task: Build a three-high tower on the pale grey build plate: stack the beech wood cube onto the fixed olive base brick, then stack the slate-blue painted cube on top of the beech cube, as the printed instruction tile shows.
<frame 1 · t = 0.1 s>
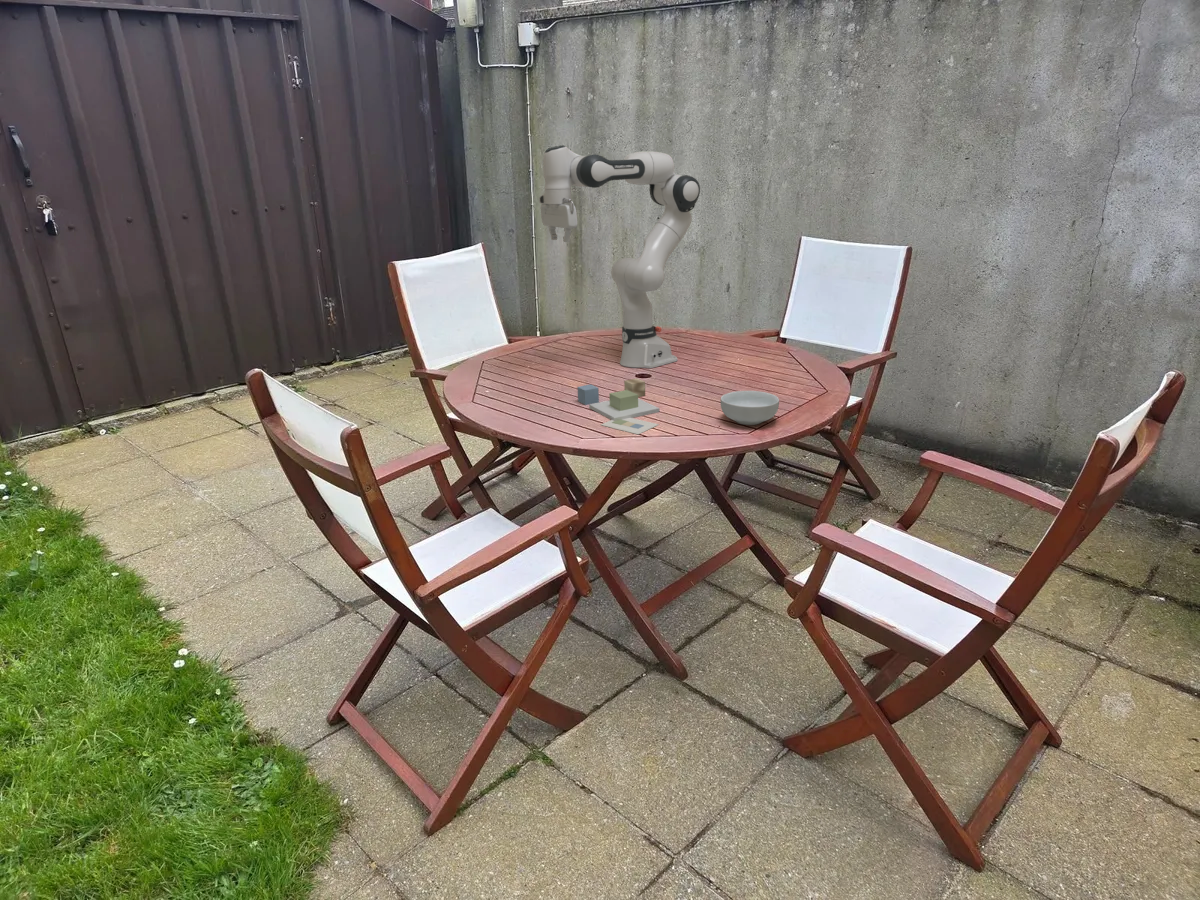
hand: (560, 240, 254), 48 cm above the table, fingers open, 8 cm apart
cereal bowl: (748, 421, 221), on the table
instruction card: (629, 425, 221), on the table
beech block: (634, 395, 248), on the table
build plate: (623, 409, 234), on the table
slate blue block: (588, 402, 243), on the table
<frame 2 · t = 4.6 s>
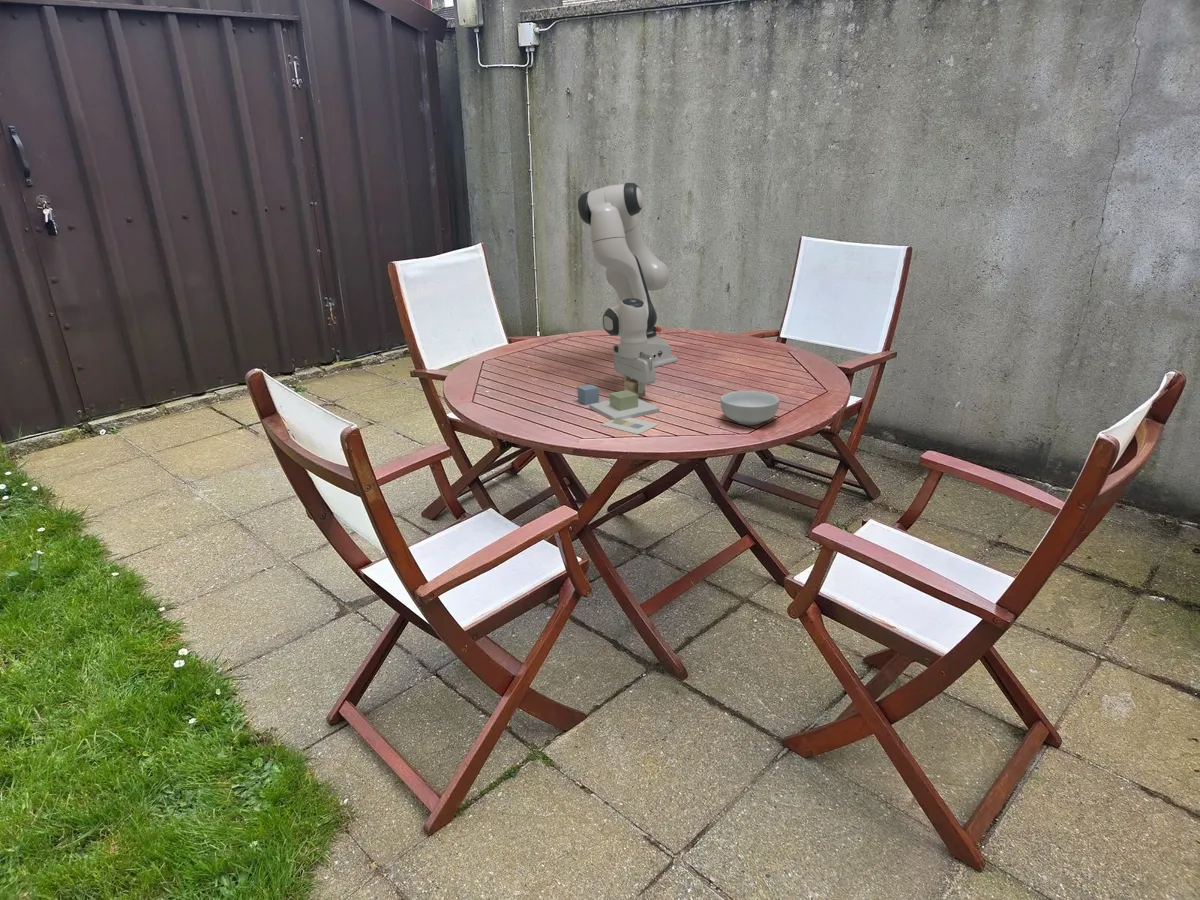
hand: (634, 390, 247), 2 cm above the table, fingers closed on beech block, 5 cm apart
beech block: (634, 395, 248), on the table, touching gripper
everything else where it was.
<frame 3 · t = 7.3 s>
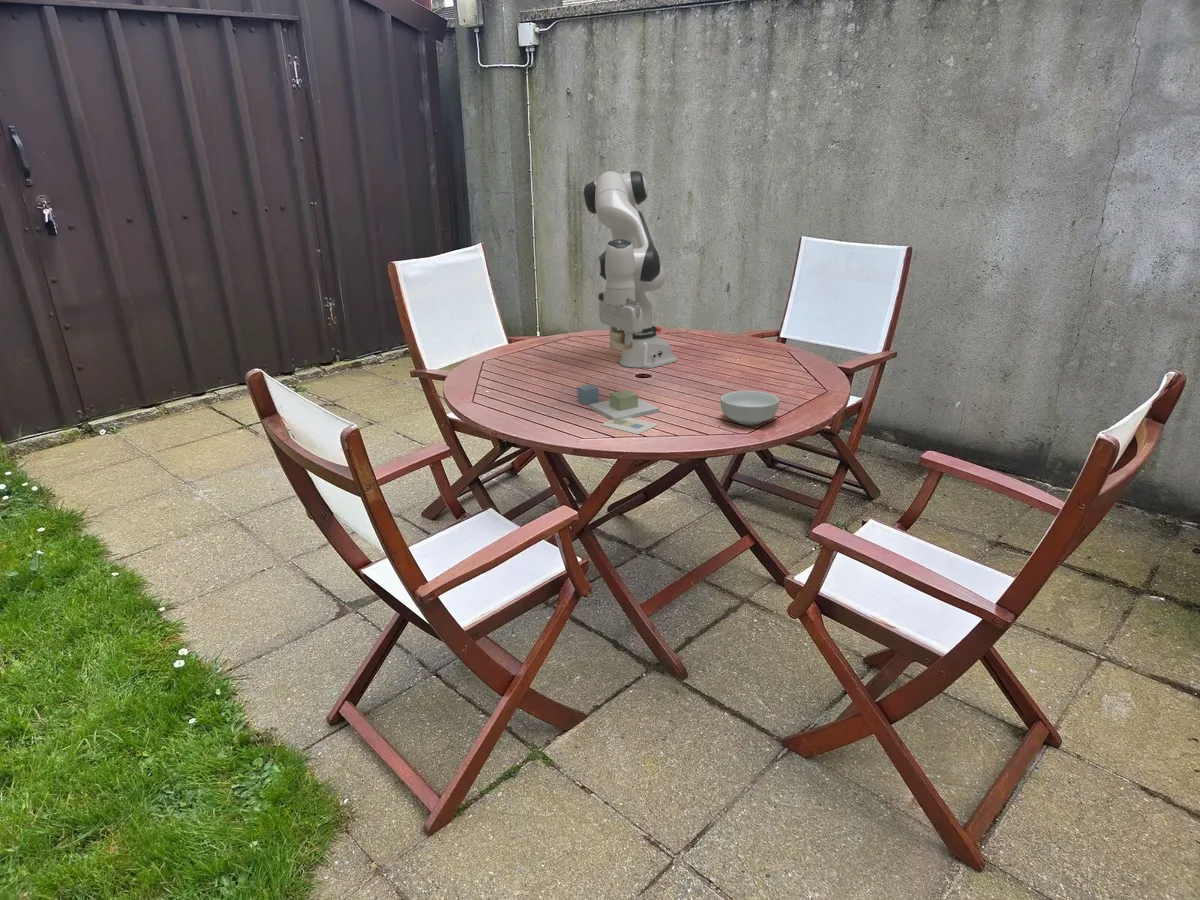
hand: (621, 342, 226), 21 cm above the table, fingers closed on beech block, 5 cm apart
beech block: (621, 347, 227), point 20 cm above the table, touching gripper
everything else where it was.
when the fingers open (8 cm above the table, at t = 10.2 s): beech block drops 1 cm, resting on build plate.
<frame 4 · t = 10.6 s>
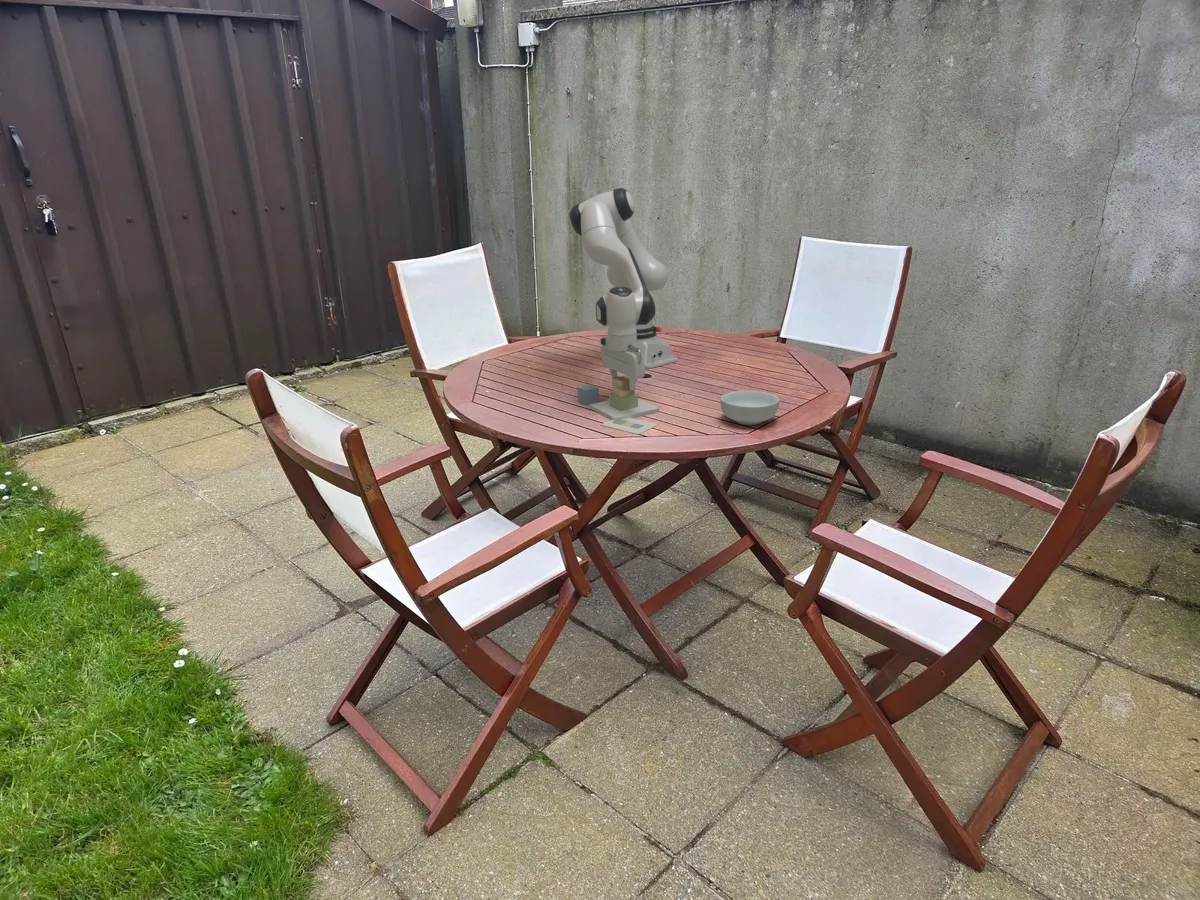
hand: (623, 386, 231), 8 cm above the table, fingers open, 8 cm apart
beech block: (623, 394, 232), point 5 cm above the table, touching build plate
everything else where it was.
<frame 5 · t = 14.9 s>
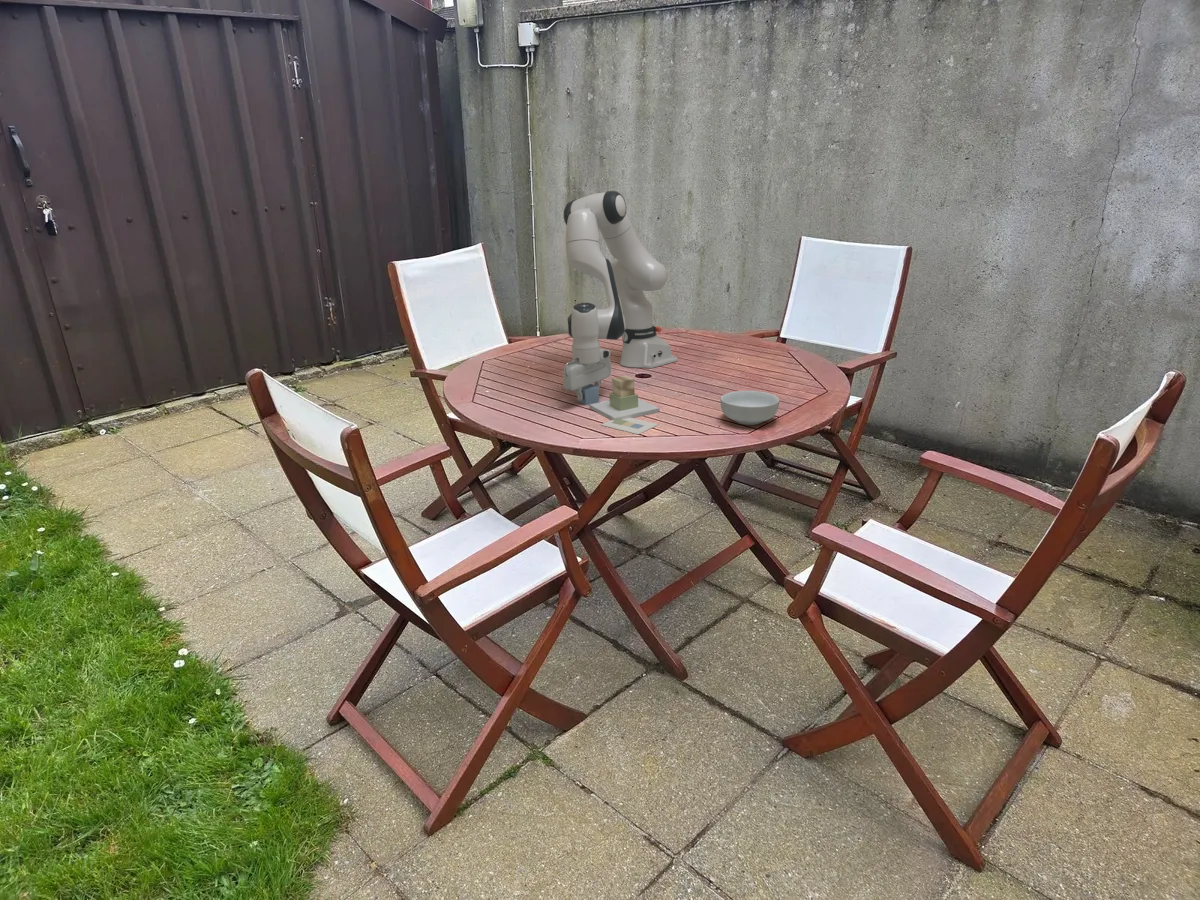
hand: (588, 396, 242), 2 cm above the table, fingers closed on slate blue block, 6 cm apart
slate blue block: (588, 401, 243), on the table, touching gripper
everything else where it was.
when the fingers open (13 cm above the table, at t = 20.6 s): slate blue block stays where it is, resting on beech block.
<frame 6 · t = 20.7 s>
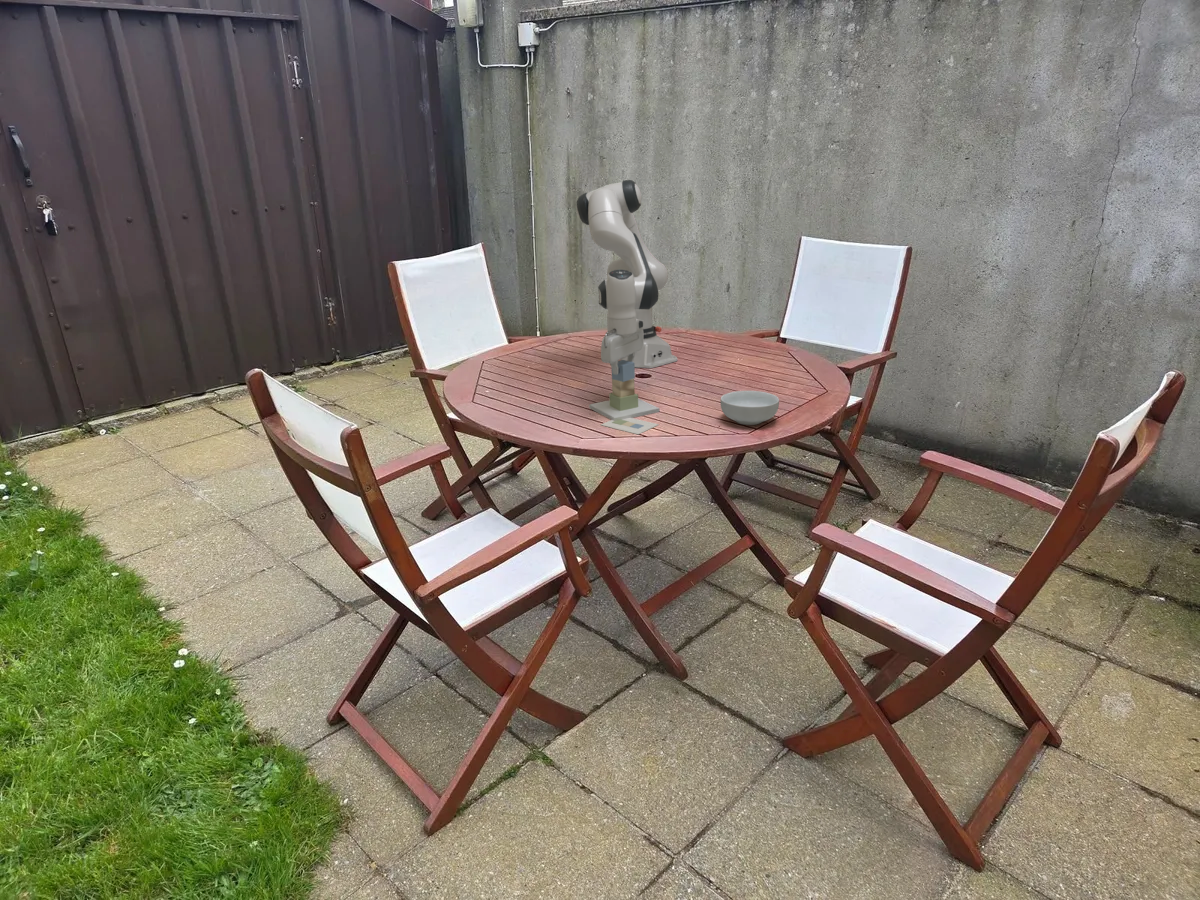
hand: (623, 370, 229), 13 cm above the table, fingers open, 7 cm apart
beech block: (623, 394, 232), point 5 cm above the table, touching build plate, slate blue block
slate blue block: (623, 378, 230), point 10 cm above the table, touching beech block
everything else where it was.
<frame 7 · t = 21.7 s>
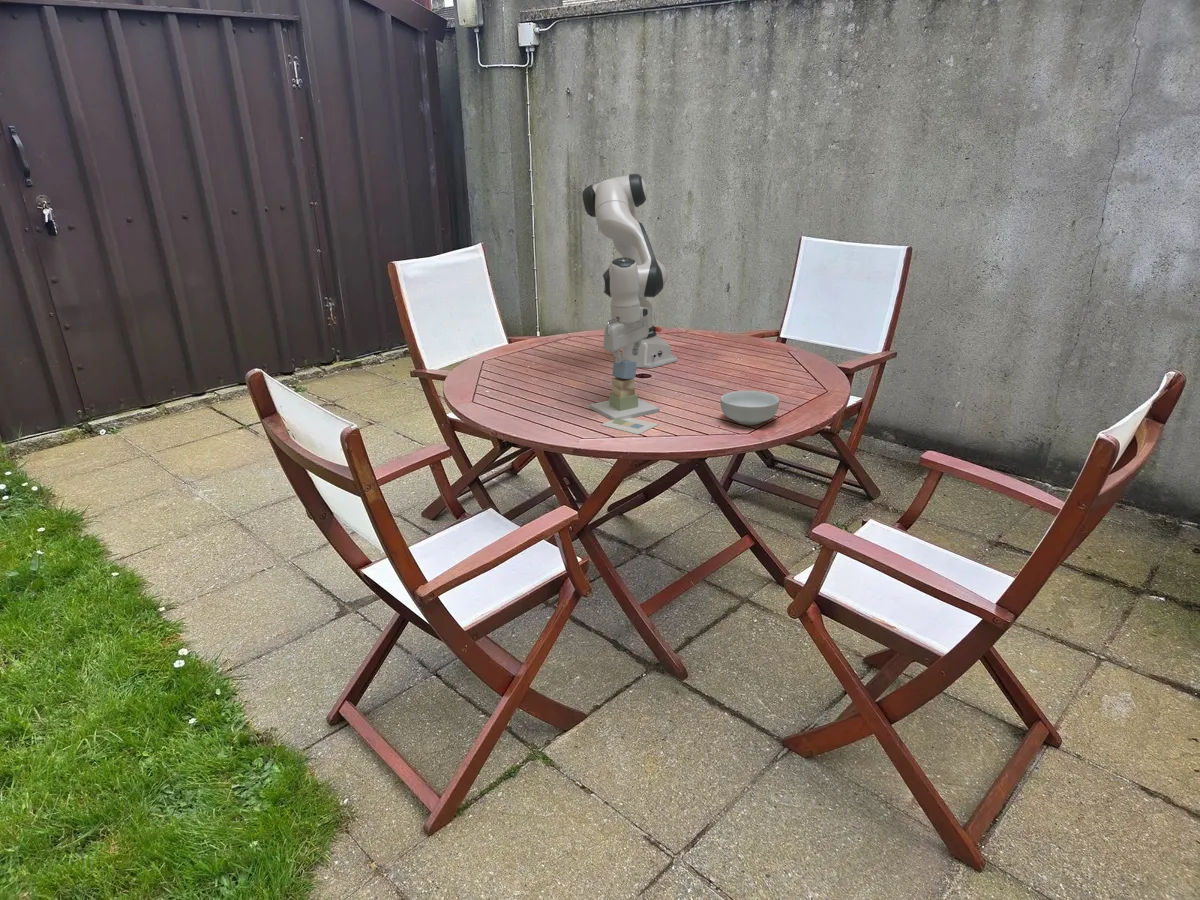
hand: (627, 358, 230), 16 cm above the table, fingers open, 8 cm apart
slate blue block: (623, 377, 230), point 11 cm above the table, tilted 11°, touching beech block
everything else where it was.
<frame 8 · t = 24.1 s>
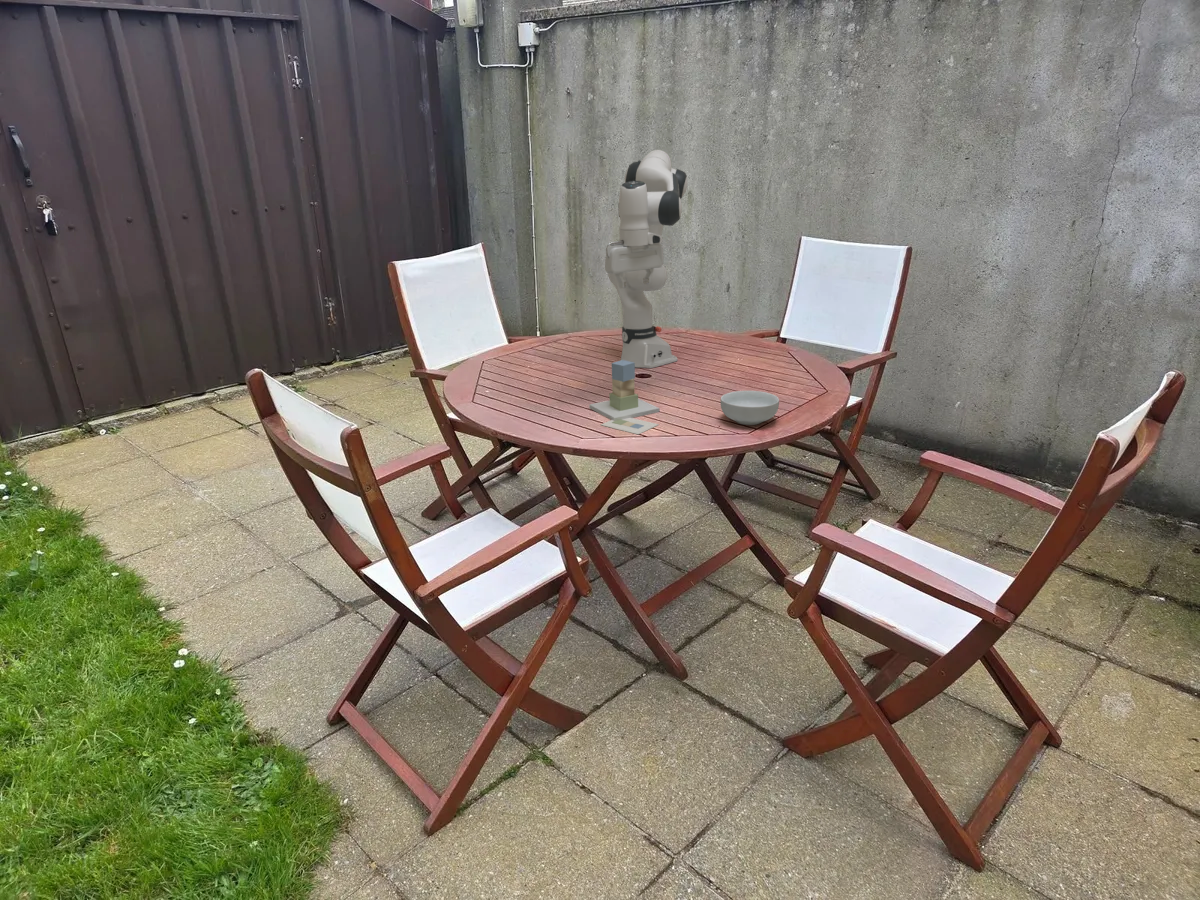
hand: (634, 285, 228), 37 cm above the table, fingers open, 8 cm apart
slate blue block: (623, 378, 230), point 10 cm above the table, touching beech block
everything else where it was.
at the end: beech block 0.0 cm off-centre on the build plate, point 5.2 cm above the build plate's base; slate blue block 0.1 cm off-centre on the build plate, point 10.2 cm above the build plate's base; slate blue block tilted 0° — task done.
